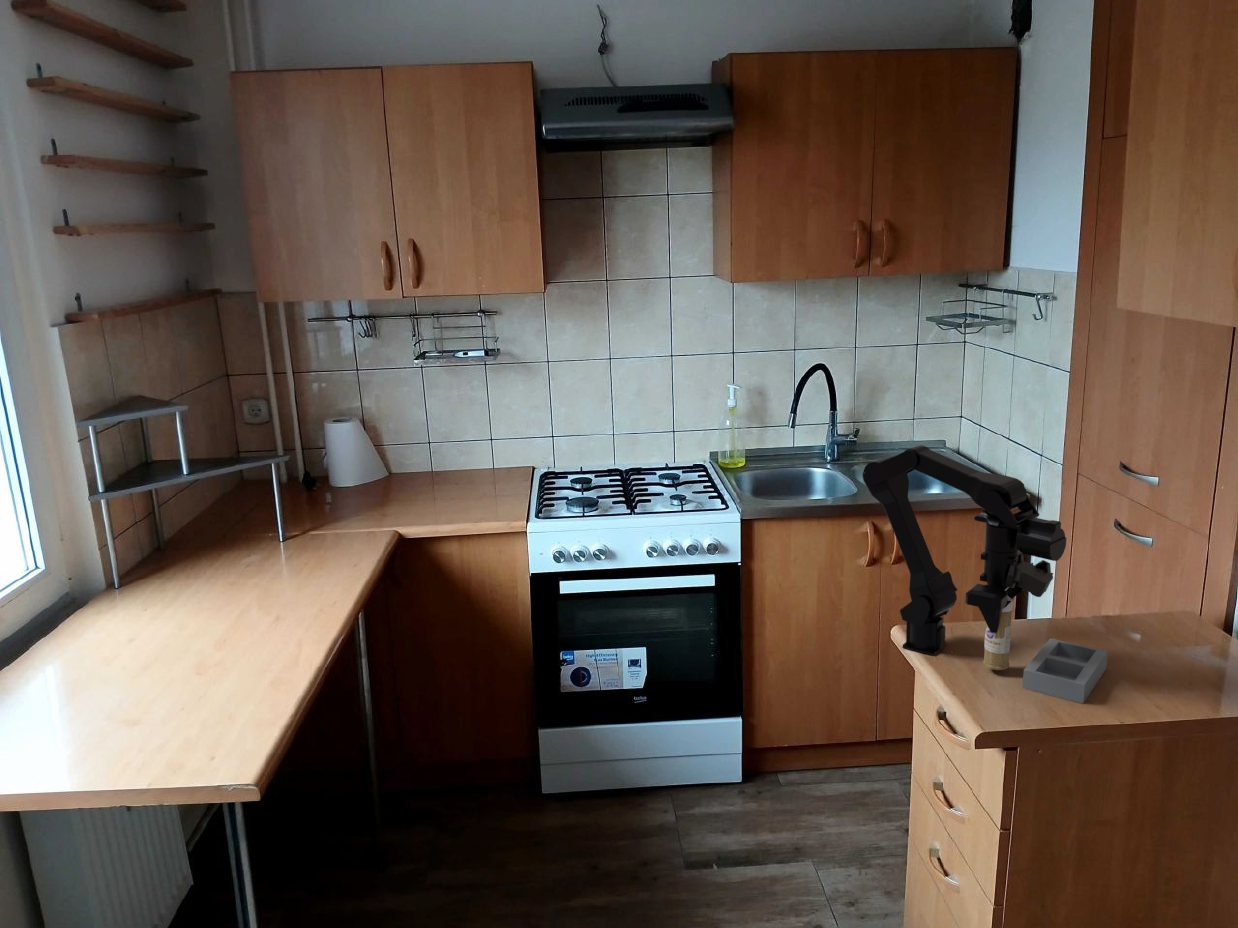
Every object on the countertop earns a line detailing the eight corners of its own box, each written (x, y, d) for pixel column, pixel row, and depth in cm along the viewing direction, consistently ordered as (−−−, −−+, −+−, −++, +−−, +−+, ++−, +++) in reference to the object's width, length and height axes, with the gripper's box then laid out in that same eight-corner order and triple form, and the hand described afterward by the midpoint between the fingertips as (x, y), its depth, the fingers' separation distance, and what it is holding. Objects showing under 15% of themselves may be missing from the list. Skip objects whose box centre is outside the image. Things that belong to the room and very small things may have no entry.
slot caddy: (1022, 687, 165) (1023, 670, 164) (1049, 655, 177) (1050, 638, 176) (1083, 703, 159) (1084, 684, 158) (1106, 668, 171) (1107, 650, 170)
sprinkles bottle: (978, 665, 172) (981, 598, 169) (990, 657, 175) (993, 591, 172) (1002, 673, 168) (1005, 604, 165) (1014, 665, 171) (1017, 597, 168)
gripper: (1032, 571, 154) (1027, 657, 158) (1064, 540, 168) (1059, 620, 172) (965, 559, 161) (962, 642, 165) (1001, 531, 175) (998, 607, 179)
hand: (998, 627), depth 170 cm, fingers closed on sprinkles bottle, 4 cm apart
